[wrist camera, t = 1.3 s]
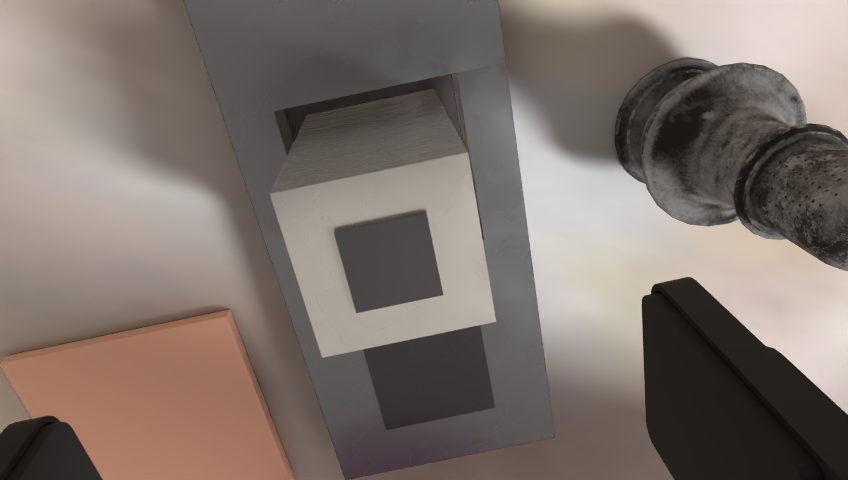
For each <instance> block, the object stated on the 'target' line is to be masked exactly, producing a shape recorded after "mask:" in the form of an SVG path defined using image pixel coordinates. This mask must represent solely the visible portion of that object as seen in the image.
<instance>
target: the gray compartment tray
mask: <svg viewBox="0 0 848 480" xmlns="http://www.w3.org/2000/svg"><path fill="white" fill-rule="evenodd" d="M184 3H185V6H186V9H187V12H188V15H189V18H190V21H191V24H192V27H193V30H194V33H195V36H196V39H197V42H198V45H199V48H200V51H201V54H202V57H203V60H204V63H205V65H206V68H207V71H208V74H209V77H210V80H211V83H212V86H213V89H214V92H215V95H216V98H217V101H218V104H219V107H220V110H221V113H222V116H223V119H224V122H225V125H226V128H227V131H228V134H229V137H230V140H231V143H232V146H233V149H234V152H235V155H236V157H237V160H238V163H239V166H240V169H241V172H242V175H243V178H244V181H245V184H246V187H247V190H248V193H249V196H250V199H251V202H252V205H253V208H254V211H255V214H256V217H257V220H258V223H259V226H260V229H261V232H262V235H263V238H264V241H265V244H266V246H267V249H268V252H269V255H270V258H271V261H272V264H273V267H274V270H275V273H276V276H277V279H278V282H279V285H280V288H281V291H282V294H283V297H284V300H285V303H286V306H287V309H288V312H289V315H290V318H291V321H292V324H293V327H294V330H295V333H296V336H297V338H298V341H299V344H300V347H301V350H302V353H303V356H304V359H305V362H306V365H307V368H308V371H309V374H310V377H311V380H312V383H313V386H314V389H315V392H316V395H317V398H318V401H319V404H320V407H321V410H322V413H323V416H324V419H325V422H326V425H327V428H328V430H329V433H330V436H331V439H332V442H333V445H334V448H335V451H336V454H337V457H338V460H339V463H340V466H341V469H342V472H343V475H344V478H345V480H349V479H354V478H358V477H363V476H368V475H373V474H378V473H383V472H388V471H392V470H397V469H402V468H407V467H412V466H417V465H422V464H426V463H431V462H436V461H441V460H446V459H451V458H455V457H460V456H465V455H470V454H475V453H480V452H485V451H489V450H494V449H499V448H504V447H509V446H514V445H519V444H523V443H528V442H533V441H538V440H543V439H548V438H553V437H555V435H554V428H553V420H552V412H551V405H550V397H549V389H548V381H547V374H546V366H545V358H544V351H543V343H542V335H541V328H540V320H539V312H538V305H537V297H536V289H535V282H534V274H533V266H532V259H531V251H530V243H529V236H528V228H527V220H526V213H525V205H524V197H523V190H522V182H521V174H520V167H519V159H518V151H517V144H516V136H515V128H514V121H513V113H512V105H511V98H510V90H509V82H508V75H507V67H506V59H505V52H504V44H503V36H502V29H501V21H500V13H499V6H498V0H184ZM448 74H451V75H452V81H453V87H454V93H455V99H456V105H457V111H458V117H459V123H460V128H461V134H462V140H463V144H464V146H465V148H466V149H467V151H468V155H469V161H470V167H471V173H472V179H473V185H474V191H475V197H476V203H477V209H478V215H479V221H480V227H481V233H482V239H483V245H484V251H485V257H486V263H487V269H488V275H489V281H490V287H491V293H492V299H493V305H494V311H495V317H496V322H492V323H487V324H483V325H478V326H473V327H468V328H463V329H459V330H454V331H449V332H444V333H439V334H435V335H430V336H425V337H420V338H415V339H410V340H406V341H401V342H396V343H391V344H386V345H382V346H377V347H372V348H367V349H362V350H357V351H353V352H348V353H343V354H338V355H333V356H329V357H324V358H322V356H321V353H320V349H319V346H318V343H317V340H316V337H315V334H314V331H313V328H312V324H311V321H310V318H309V315H308V312H307V309H306V306H305V303H304V300H303V296H302V293H301V290H300V287H299V284H298V281H297V278H296V275H295V272H294V268H293V265H292V262H291V259H290V256H289V253H288V250H287V247H286V244H285V240H284V237H283V234H282V231H281V228H280V225H279V222H278V219H277V215H276V212H275V209H274V206H273V203H272V200H271V197H270V192H271V190H272V188H273V186H274V184H275V181H276V179H277V177H278V175H279V173H280V171H281V169H282V166H283V164H284V162H285V160H286V158H287V156H288V154H289V151H290V149H291V147H292V145H293V143H294V141H293V138H292V134H291V131H290V127H289V124H288V121H287V117H286V114H285V110H284V109H287V108H292V107H297V106H301V105H306V104H311V103H315V102H320V101H325V100H330V99H334V98H339V97H344V96H349V95H353V94H358V93H363V92H368V91H372V90H377V89H382V88H387V87H391V86H396V85H401V84H406V83H410V82H415V81H420V80H425V79H429V78H434V77H439V76H444V75H448Z"/></svg>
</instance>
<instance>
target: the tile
mask: <svg viewBox="0 0 848 480" xmlns="http://www.w3.org/2000/svg"><path fill="white" fill-rule="evenodd" d="M0 367H1V369H2V370H3V372H4V374H5V375H6V377H7V379H8V380H9V382H10V384H11V385H12V387H13V389H14V390H15V392H16V394H17V395H18V397H19V399H20V400H21V402H22V404H23V405H24V407H25V409H26V410H27V412H28V414H29V415H30V417H31V418H32V419H34V418H38V417H43V416H54V417H56V418H58V419H59V420H60V422H66V423H68V424H69V425H70V426H71V427H72V428H73V430H74V432H75V433H76V435H77V437H78V439H79V440H80V442H81V444H82V445H83V447H84V449H85V450H86V452H87V454H88V456H89V457H90V459H91V461H92V462H93V464H94V466H95V467H96V469H97V471H98V472H99V474H100V476H101V478H102V479H103V480H293V478H294V475H293V473H292V470H291V467H290V465H289V462H288V460H287V457H286V454H285V452H284V449H283V447H282V444H281V441H280V439H279V436H278V434H277V431H276V428H275V426H274V423H273V421H272V418H271V415H270V413H269V410H268V408H267V405H266V402H265V400H264V397H263V395H262V392H261V389H260V387H259V384H258V382H257V379H256V376H255V374H254V371H253V369H252V366H251V363H250V361H249V358H248V356H247V353H246V350H245V348H244V345H243V343H242V340H241V337H240V335H239V332H238V330H237V327H236V324H235V322H234V319H233V317H232V314H231V311H230V309H229V310H224V311H220V312H215V313H210V314H205V315H200V316H196V317H191V318H186V319H181V320H176V321H172V322H167V323H162V324H157V325H152V326H148V327H143V328H138V329H133V330H129V331H124V332H119V333H114V334H109V335H105V336H100V337H95V338H90V339H85V340H81V341H76V342H71V343H66V344H61V345H57V346H52V347H47V348H42V349H37V350H33V351H28V352H23V353H18V354H13V355H9V356H6V357H5V358H4V359H3V360H2V361H1V362H0Z"/></svg>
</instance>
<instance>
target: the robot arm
mask: <svg viewBox="0 0 848 480" xmlns="http://www.w3.org/2000/svg"><path fill="white" fill-rule="evenodd" d="M642 324H643V351H644V378H645V405H646V424H647V429H648V433H649V436H650V439H651V441H652V443H653V445H654V447H655V448H656V450H657V452H658V453H659V455H660V457H661V458H662V460H663V462H664V463H665V465H666V467H667V468H668V470H669V471H670V473H671V475H672V476H673V478H674V480H848V415H847V414H846V413H845V412H844V411H843V410H842V409H841V408H840V407H838V406H837V405H836V404H835V403H834V402H833V401H832V400H831V399H830V398H829V397H828V396H827V395H825V394H824V393H823V392H822V391H821V390H820V389H819V388H818V387H817V386H816V385H815V384H814V383H813V382H811V381H810V380H809V379H808V378H807V377H806V376H805V375H804V374H803V373H802V372H801V371H800V370H798V369H797V368H796V367H795V366H794V365H793V364H792V363H791V362H790V361H789V360H788V359H787V358H785V357H784V356H783V355H782V354H781V353H779V352H778V351H777V350H775V349H774V348H770V347H767V346H765V345H764V344H763V343H762V342H761V341H760V340H758V339H757V338H756V337H755V336H754V335H753V334H752V333H751V332H750V331H749V330H748V329H747V328H746V327H745V326H744V325H743V324H742V323H740V322H739V321H738V320H737V319H736V318H735V317H734V316H733V315H732V314H731V313H730V312H729V311H728V310H727V309H726V308H725V307H723V306H722V305H721V304H720V303H719V302H718V301H717V300H716V299H715V298H714V297H713V296H712V295H711V294H710V293H709V292H708V291H707V290H705V289H704V288H703V287H702V286H701V285H700V284H699V283H698V282H697V281H696V280H695V279H693V278H692V277H686V278H681V279H677V280H672V281H667V282H663V283H658V284H655V285H654V286H653V287H652V290H651V294H650V295H646V296H644V297H643V299H642ZM0 480H103V479H102V478H101V476H100V474H99V472H98V471H97V469H96V467H95V466H94V464H93V462H92V461H91V459H90V457H89V456H88V454H87V452H86V450H85V449H84V447H83V445H82V444H81V442H80V440H79V439H78V437H77V435H76V433H75V432H74V430H73V428H72V427H71V426H70V425H69V424H68V423H66V422H60V420H59V419H58V418H56V417H54V416H43V417H38V418H34V419H29V420H25V421H20V422H15V423H13V424H10V425H8V426H7V427H6V428H5V429H4V430H3V432H2V433H1V434H0Z"/></svg>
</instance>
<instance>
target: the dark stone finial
mask: <svg viewBox="0 0 848 480" xmlns="http://www.w3.org/2000/svg"><path fill="white" fill-rule="evenodd" d="M615 146H616V150H617V153H618V157H619V159H620V161H621V163H622V164H623V166H624V167H625V169H626V170H627V172H629V173H630V174H631V175H632V176H634V177H635V178H636V179H637V180H638V181H640V182H642V183H645V184H646V186H647V190H648V191H649V193H650V195H651V196H652V198H653V199H654V201H655V202H656V204H657V205H658V206H659V207H660V208H661V209H663V210H664V211H665V212H666V213H667V214H669V215H670V216H671V217H672V218H675V219H677V220H680V221H682V222H685V223H687V224H690V225H701V226H714V225H721V224H727V223H731V222H733V221H736V220H738V219H740V221H741V223H742V224H743V225H744V226H745V227H746V228H747V229H749V230H750V231H751V232H752V233H754V234H756V235H759V236H761V237H764V238H766V239H777V240H782V239H788V240H789V241H791V242H792V243H794V244H796V245H797V246H799V247H800V248H802V249H803V250H805V251H807V252H808V253H810V254H811V255H813V256H814V257H816V258H818V259H819V260H821V261H822V262H824V263H825V264H828V265H830V266H833V267H836V268H839V269H842V270H845V271H848V139H847V138H846V137H845V136H844V135H843V134H842V133H841V132H840V131H837V130H835V129H833V128H831V127H829V126H826V125H819V124H807V119H806V112H805V106H804V104H803V101H802V99H801V97H800V95H799V93H798V91H797V89H796V88H795V87H794V86H793V85H792V84H791V83H790V82H789V81H788V80H787V78H786V77H785V76H784V75H782V74H780V73H778V72H776V71H774V70H772V69H770V68H768V67H766V66H763V65H756V64H748V63H736V64H729V65H722V66H717V65H715V64H713V63H711V62H709V61H704V60H697V59H684V60H677V61H672V62H669V63H667V64H665V65H662V66H660V67H658V68H655V69H654V70H653V71H651V72H650V73H649V74H647V75H646V76H645V77H643V78H642V79H640V81H639V82H638V83H637V84H636V85H635V86H634V88H633V89H632V90H631V91H630V92H629V93H628V95H627V97H626V99H625V100H624V102H623V104H622V106H621V108H620V110H619V113H618V117H617V121H616V125H615Z"/></svg>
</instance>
